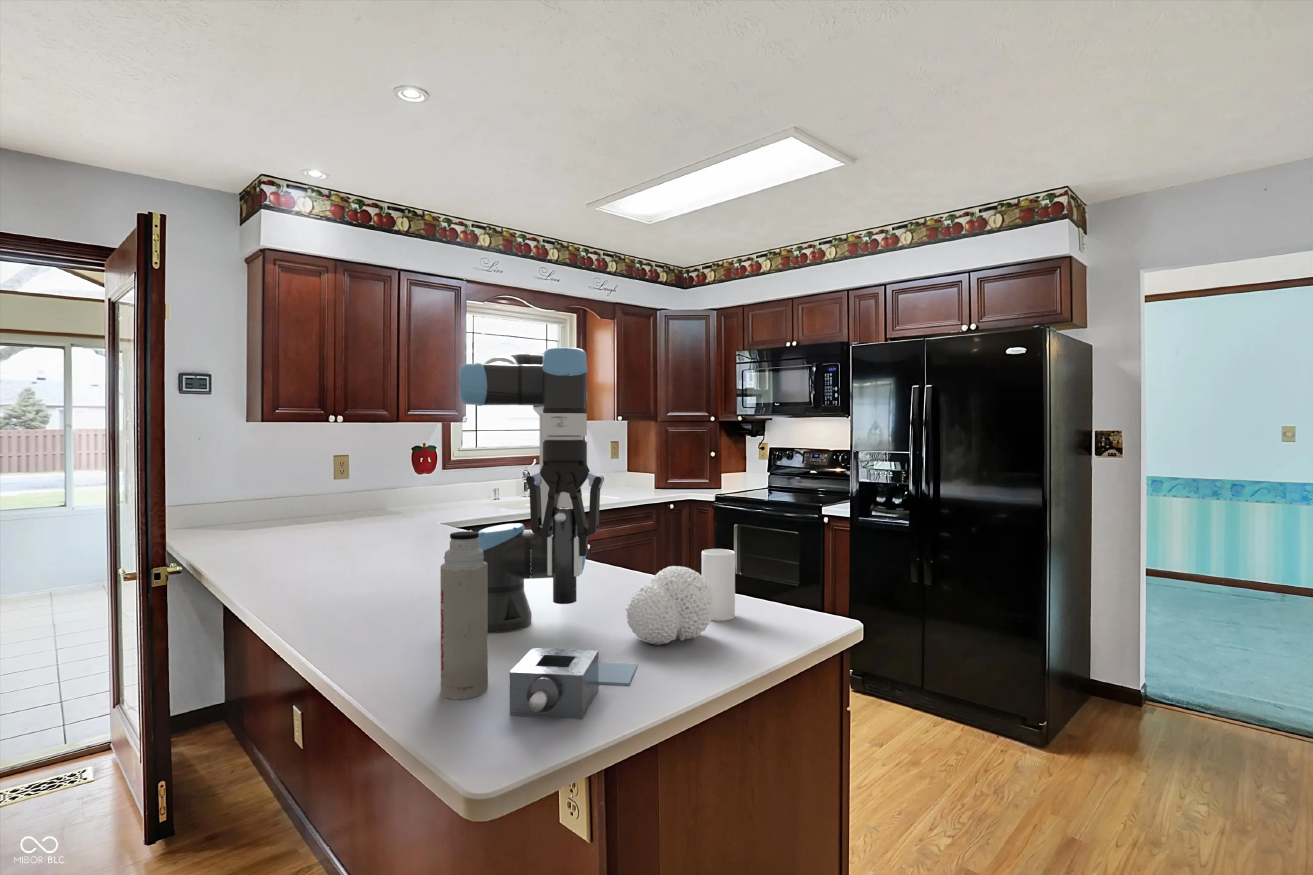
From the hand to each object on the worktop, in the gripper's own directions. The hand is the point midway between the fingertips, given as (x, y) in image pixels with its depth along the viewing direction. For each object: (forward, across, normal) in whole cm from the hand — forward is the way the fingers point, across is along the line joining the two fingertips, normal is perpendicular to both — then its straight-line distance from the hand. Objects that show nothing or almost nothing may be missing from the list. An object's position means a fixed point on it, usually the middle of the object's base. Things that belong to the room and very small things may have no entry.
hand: (564, 573), depth 115 cm
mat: (+21, +5, +11) cm, 25 cm away
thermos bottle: (+22, -18, 0) cm, 28 cm away
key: (+5, 0, 0) cm, 5 cm away
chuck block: (+21, -1, -5) cm, 22 cm away
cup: (+22, +24, +54) cm, 63 cm away
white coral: (+22, +15, +34) cm, 43 cm away
